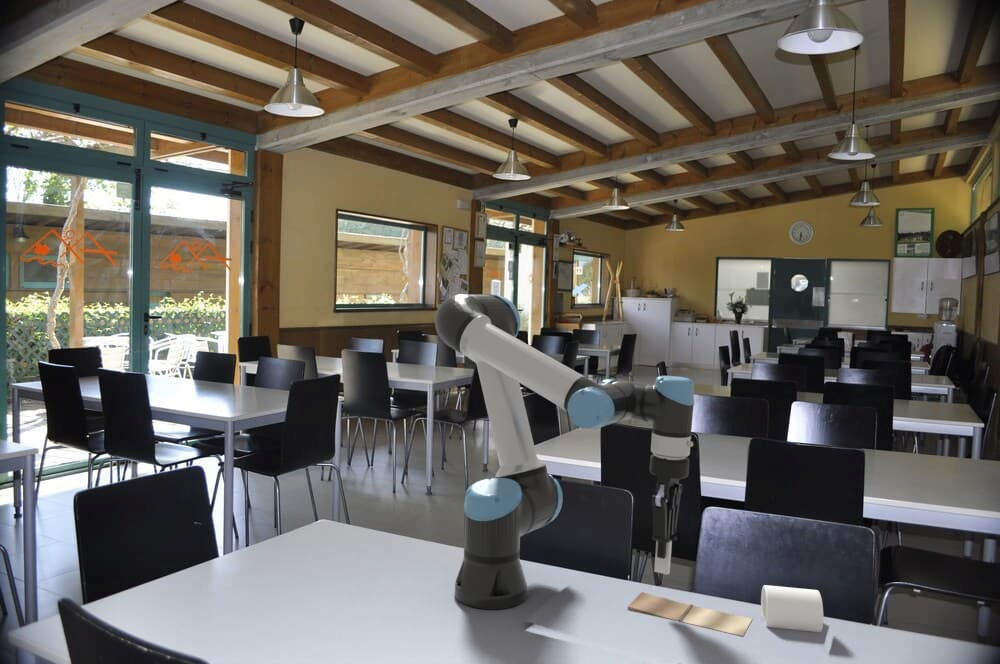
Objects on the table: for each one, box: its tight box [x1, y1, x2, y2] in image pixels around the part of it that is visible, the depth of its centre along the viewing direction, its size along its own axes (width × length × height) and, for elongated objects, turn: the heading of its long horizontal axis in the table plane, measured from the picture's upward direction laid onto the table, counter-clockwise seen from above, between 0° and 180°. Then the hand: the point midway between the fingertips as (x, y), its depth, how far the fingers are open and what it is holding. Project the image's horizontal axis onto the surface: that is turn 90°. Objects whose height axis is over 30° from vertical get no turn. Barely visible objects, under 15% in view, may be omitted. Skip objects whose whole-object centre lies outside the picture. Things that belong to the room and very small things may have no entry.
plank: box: [627, 591, 690, 622], centre depth 149 cm, size 10×8×1 cm
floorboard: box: [677, 604, 753, 638], centre depth 144 cm, size 12×8×2 cm
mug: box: [760, 584, 824, 633], centre depth 145 cm, size 12×10×8 cm
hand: (662, 571), depth 149 cm, fingers closed
